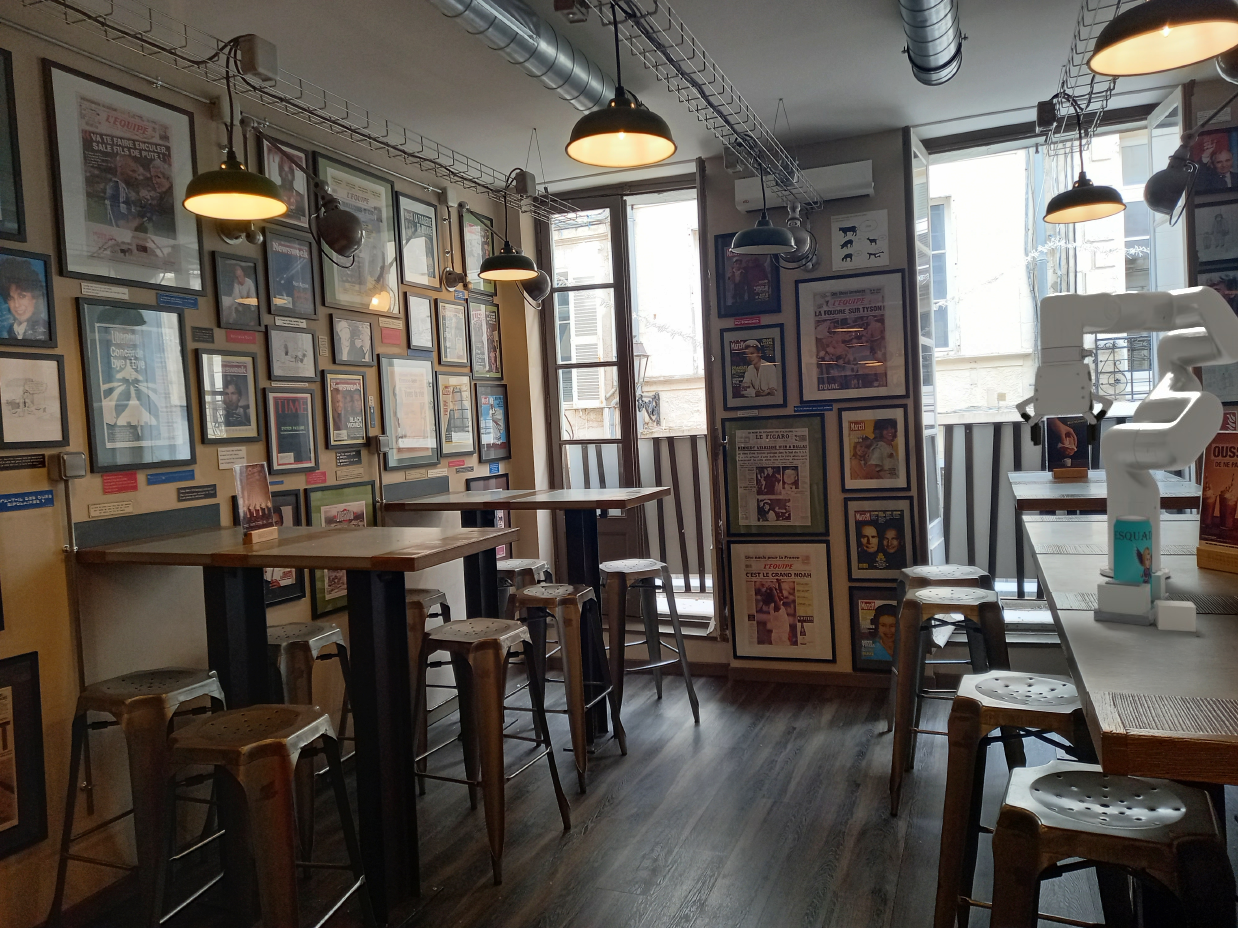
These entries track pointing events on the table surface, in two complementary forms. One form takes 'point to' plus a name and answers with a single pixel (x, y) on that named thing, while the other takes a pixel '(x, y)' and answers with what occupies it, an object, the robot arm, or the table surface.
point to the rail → (1129, 615)
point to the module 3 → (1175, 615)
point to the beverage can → (1133, 549)
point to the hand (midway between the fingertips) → (1063, 445)
